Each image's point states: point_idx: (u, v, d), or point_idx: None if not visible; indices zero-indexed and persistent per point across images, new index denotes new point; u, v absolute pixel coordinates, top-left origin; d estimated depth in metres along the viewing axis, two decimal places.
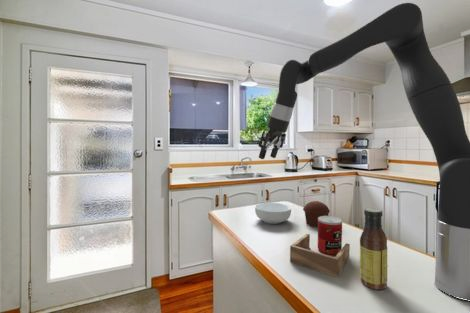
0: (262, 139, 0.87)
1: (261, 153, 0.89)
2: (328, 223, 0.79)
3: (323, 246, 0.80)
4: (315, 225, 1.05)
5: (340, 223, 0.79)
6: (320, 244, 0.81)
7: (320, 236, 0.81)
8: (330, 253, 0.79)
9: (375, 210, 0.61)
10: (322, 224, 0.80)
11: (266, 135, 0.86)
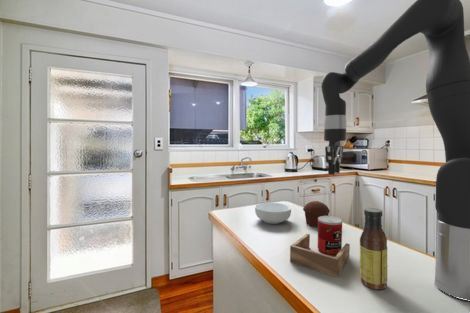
0: (328, 155, 0.85)
1: (330, 169, 0.87)
2: (328, 223, 0.79)
3: (323, 246, 0.80)
4: (315, 225, 1.05)
5: (340, 223, 0.79)
6: (320, 244, 0.81)
7: (320, 236, 0.81)
8: (330, 253, 0.79)
9: (375, 210, 0.61)
10: (322, 224, 0.80)
11: (330, 149, 0.84)
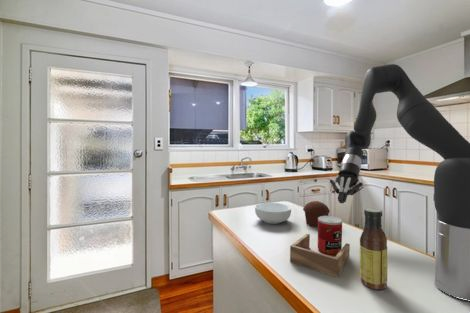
0: (333, 187, 0.99)
1: None
2: (328, 223, 0.79)
3: (323, 246, 0.80)
4: (315, 225, 1.05)
5: (340, 223, 0.79)
6: (320, 244, 0.81)
7: (320, 236, 0.81)
8: (330, 253, 0.79)
9: (375, 210, 0.61)
10: (322, 224, 0.80)
11: (330, 182, 0.99)
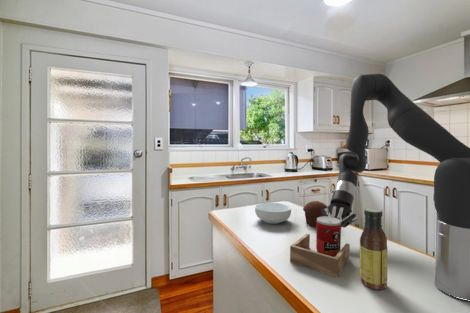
0: None
1: None
2: (327, 224, 0.78)
3: (321, 247, 0.79)
4: (315, 225, 1.05)
5: (339, 224, 0.78)
6: (319, 245, 0.80)
7: (319, 237, 0.80)
8: (329, 254, 0.78)
9: (375, 210, 0.61)
10: (320, 225, 0.79)
11: (322, 211, 0.92)
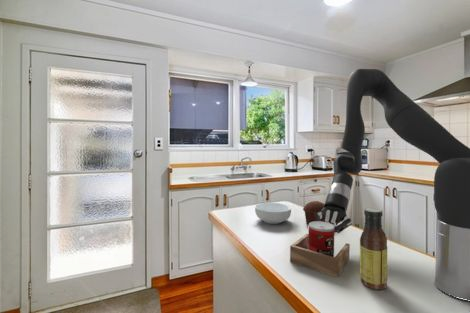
0: None
1: None
2: (319, 230, 0.72)
3: None
4: None
5: (332, 229, 0.73)
6: None
7: (311, 244, 0.75)
8: None
9: (375, 210, 0.61)
10: (313, 231, 0.74)
11: (315, 216, 0.87)
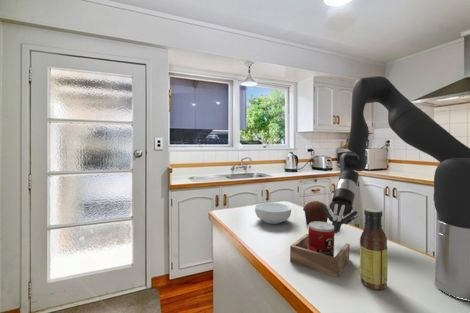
0: (326, 214, 0.94)
1: None
2: (319, 230, 0.72)
3: None
4: None
5: (332, 230, 0.73)
6: None
7: (311, 244, 0.75)
8: None
9: (375, 210, 0.61)
10: (313, 231, 0.74)
11: (324, 209, 0.95)
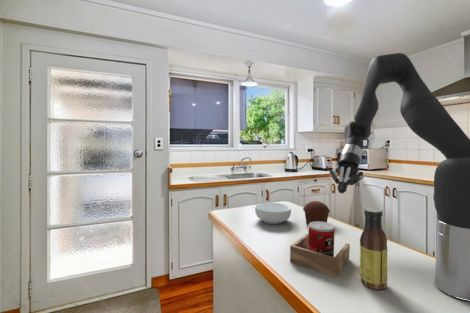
0: (332, 177, 0.96)
1: None
2: (319, 230, 0.72)
3: None
4: None
5: (332, 230, 0.73)
6: None
7: (311, 244, 0.75)
8: None
9: (375, 210, 0.61)
10: (313, 231, 0.74)
11: (330, 173, 0.97)
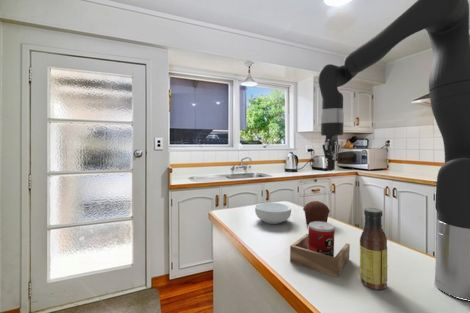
0: (326, 152, 0.84)
1: (330, 164, 0.87)
2: (319, 230, 0.72)
3: None
4: None
5: (332, 230, 0.73)
6: None
7: (311, 244, 0.75)
8: None
9: (375, 210, 0.61)
10: (313, 231, 0.74)
11: (328, 148, 0.83)
